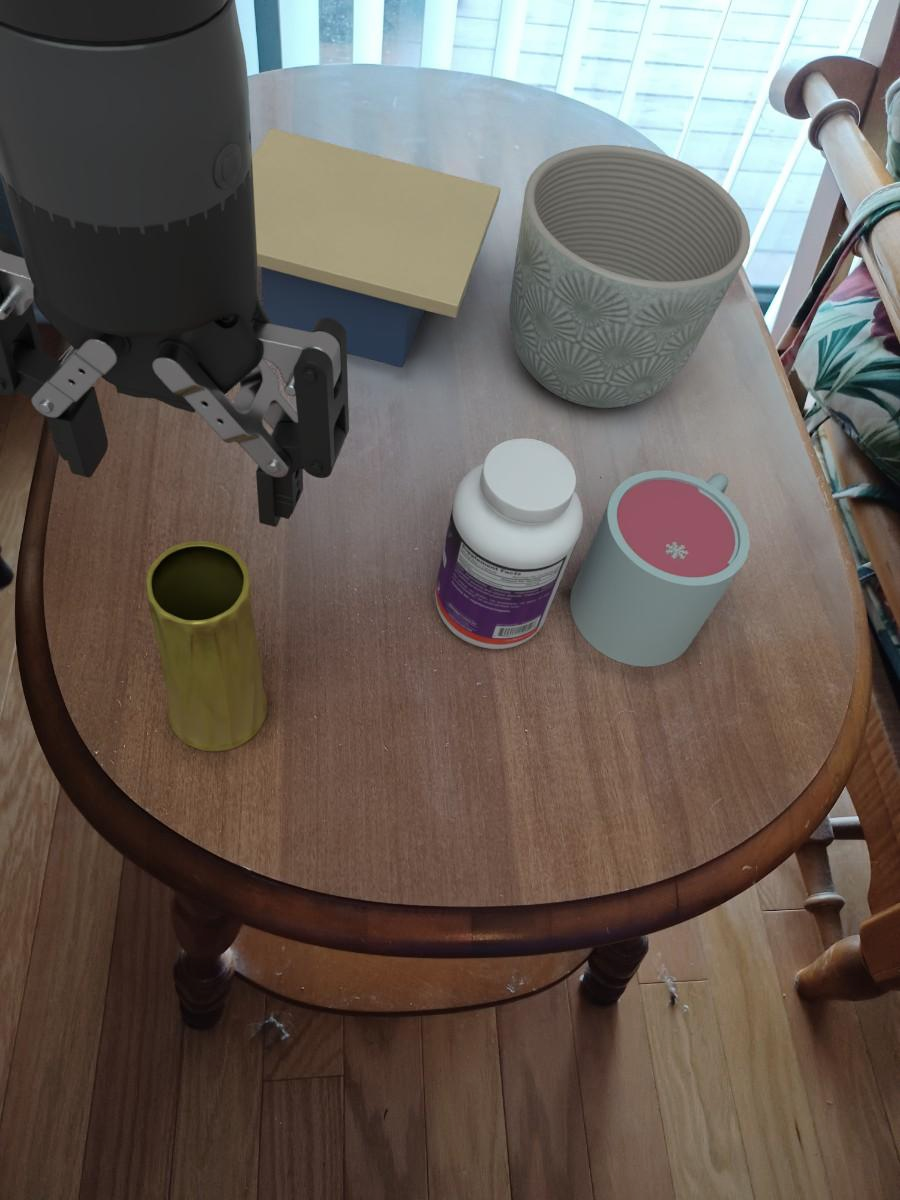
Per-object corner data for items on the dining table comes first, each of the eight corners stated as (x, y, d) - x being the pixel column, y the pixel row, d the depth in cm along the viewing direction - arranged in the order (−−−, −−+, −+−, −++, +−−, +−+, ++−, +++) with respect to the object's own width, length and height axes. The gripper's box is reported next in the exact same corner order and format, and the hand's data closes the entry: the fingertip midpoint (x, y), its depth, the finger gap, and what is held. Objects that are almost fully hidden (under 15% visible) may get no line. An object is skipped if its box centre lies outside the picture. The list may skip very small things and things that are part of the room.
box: (208, 333, 78) (199, 237, 71) (273, 223, 87) (271, 127, 80) (442, 396, 78) (458, 306, 70) (483, 278, 87) (501, 187, 79)
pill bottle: (472, 542, 70) (507, 400, 58) (565, 598, 68) (621, 464, 56) (410, 615, 66) (434, 478, 54) (508, 677, 64) (555, 550, 52)
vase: (194, 770, 58) (167, 651, 46) (151, 692, 60) (115, 560, 48) (284, 724, 60) (280, 600, 48) (239, 651, 62) (226, 516, 51)
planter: (678, 459, 77) (751, 309, 65) (475, 413, 77) (509, 254, 65) (686, 325, 87) (751, 172, 74) (505, 284, 87) (540, 124, 74)
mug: (656, 690, 65) (708, 612, 57) (545, 614, 67) (580, 527, 59) (744, 570, 72) (802, 484, 64) (641, 504, 74) (684, 413, 66)
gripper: (384, 133, 31) (360, 467, 44) (-35, 27, 31) (68, 389, 45) (312, 273, 27) (310, 594, 40) (-171, 147, 27) (-13, 508, 40)
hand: (182, 486), depth 42 cm, fingers open, 8 cm apart
